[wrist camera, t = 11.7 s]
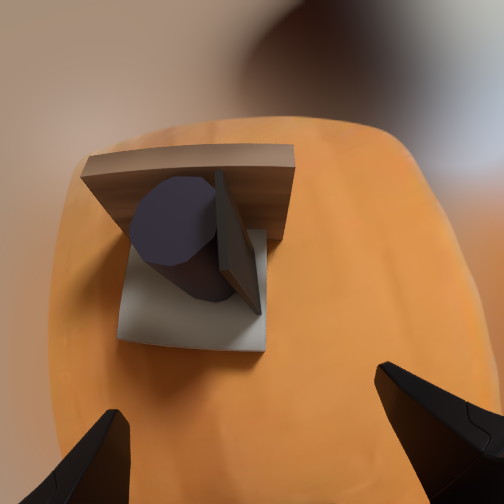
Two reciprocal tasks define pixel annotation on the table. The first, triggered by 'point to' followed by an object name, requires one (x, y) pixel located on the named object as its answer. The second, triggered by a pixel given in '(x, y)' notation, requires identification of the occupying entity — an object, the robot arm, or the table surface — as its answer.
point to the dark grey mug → (197, 239)
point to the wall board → (160, 288)
